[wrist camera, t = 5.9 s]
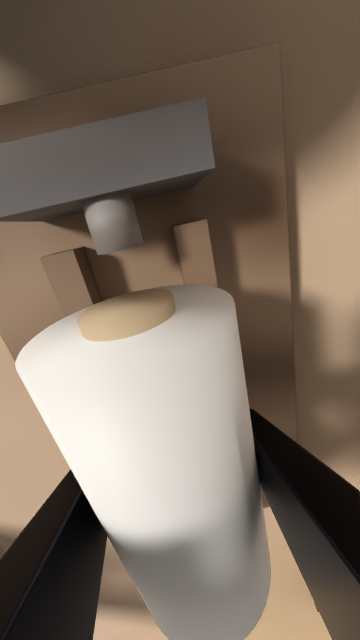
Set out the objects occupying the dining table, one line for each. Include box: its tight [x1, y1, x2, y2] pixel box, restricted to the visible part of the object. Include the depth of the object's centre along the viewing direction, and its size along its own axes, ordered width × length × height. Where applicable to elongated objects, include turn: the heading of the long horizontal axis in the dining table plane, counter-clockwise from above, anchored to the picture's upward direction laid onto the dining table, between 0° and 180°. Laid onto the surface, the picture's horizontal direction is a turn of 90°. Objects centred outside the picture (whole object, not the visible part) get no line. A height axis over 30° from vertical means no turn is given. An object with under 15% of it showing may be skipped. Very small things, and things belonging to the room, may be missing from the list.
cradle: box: [0, 42, 298, 508], centre depth 10 cm, size 20×11×4 cm, turn 12°
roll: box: [15, 284, 271, 640], centre depth 7 cm, size 10×4×4 cm, turn 12°
